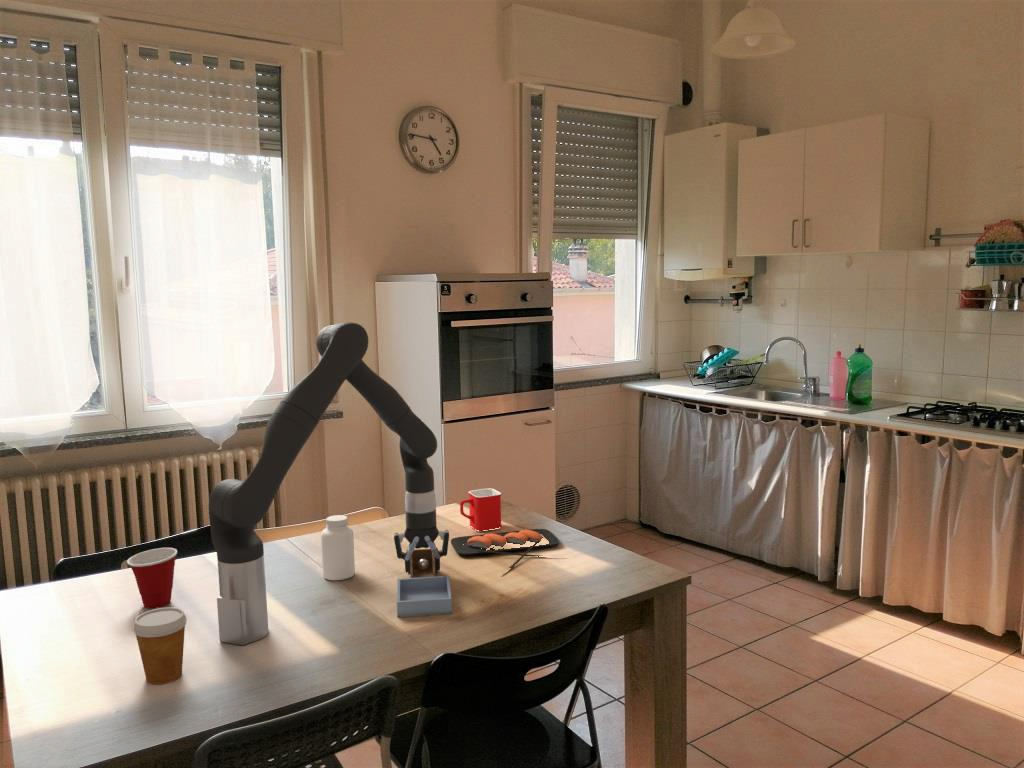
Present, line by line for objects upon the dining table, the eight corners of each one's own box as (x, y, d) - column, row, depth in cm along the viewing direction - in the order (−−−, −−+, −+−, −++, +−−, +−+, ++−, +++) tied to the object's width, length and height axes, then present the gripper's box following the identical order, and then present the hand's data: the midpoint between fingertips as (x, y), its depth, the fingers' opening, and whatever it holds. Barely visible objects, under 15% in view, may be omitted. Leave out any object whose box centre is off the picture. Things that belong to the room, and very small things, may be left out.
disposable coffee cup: (198, 663, 161) (193, 605, 159) (180, 688, 151) (175, 626, 150) (149, 665, 160) (144, 607, 159) (128, 690, 151) (122, 628, 149)
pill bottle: (359, 570, 210) (356, 513, 208) (349, 581, 202) (347, 523, 200) (329, 569, 211) (326, 513, 209) (318, 581, 203) (315, 522, 201)
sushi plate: (547, 534, 238) (546, 521, 237) (582, 569, 209) (582, 554, 209) (448, 544, 231) (448, 531, 230) (470, 582, 202) (470, 567, 201)
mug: (492, 521, 249) (491, 487, 247) (504, 529, 242) (503, 494, 240) (455, 527, 244) (454, 493, 242) (466, 535, 236) (465, 499, 235)
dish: (398, 593, 195) (397, 579, 194) (448, 589, 196) (448, 575, 196) (397, 617, 181) (396, 602, 180) (452, 613, 182) (451, 598, 182)
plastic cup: (133, 598, 194) (129, 549, 193) (182, 592, 197) (179, 544, 196) (127, 616, 184) (123, 565, 182) (179, 609, 187) (175, 559, 186)
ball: (425, 572, 205) (426, 560, 205) (414, 570, 206) (415, 558, 206) (430, 570, 208) (431, 558, 208) (420, 567, 209) (421, 556, 209)
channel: (410, 570, 209) (410, 549, 208) (434, 569, 210) (433, 548, 209) (410, 583, 200) (410, 562, 200) (435, 582, 201) (434, 560, 200)
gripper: (390, 513, 198) (393, 580, 200) (450, 510, 200) (452, 576, 202) (391, 505, 205) (394, 569, 208) (449, 501, 207) (450, 565, 210)
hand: (422, 572), depth 205 cm, fingers closed on channel, 6 cm apart
